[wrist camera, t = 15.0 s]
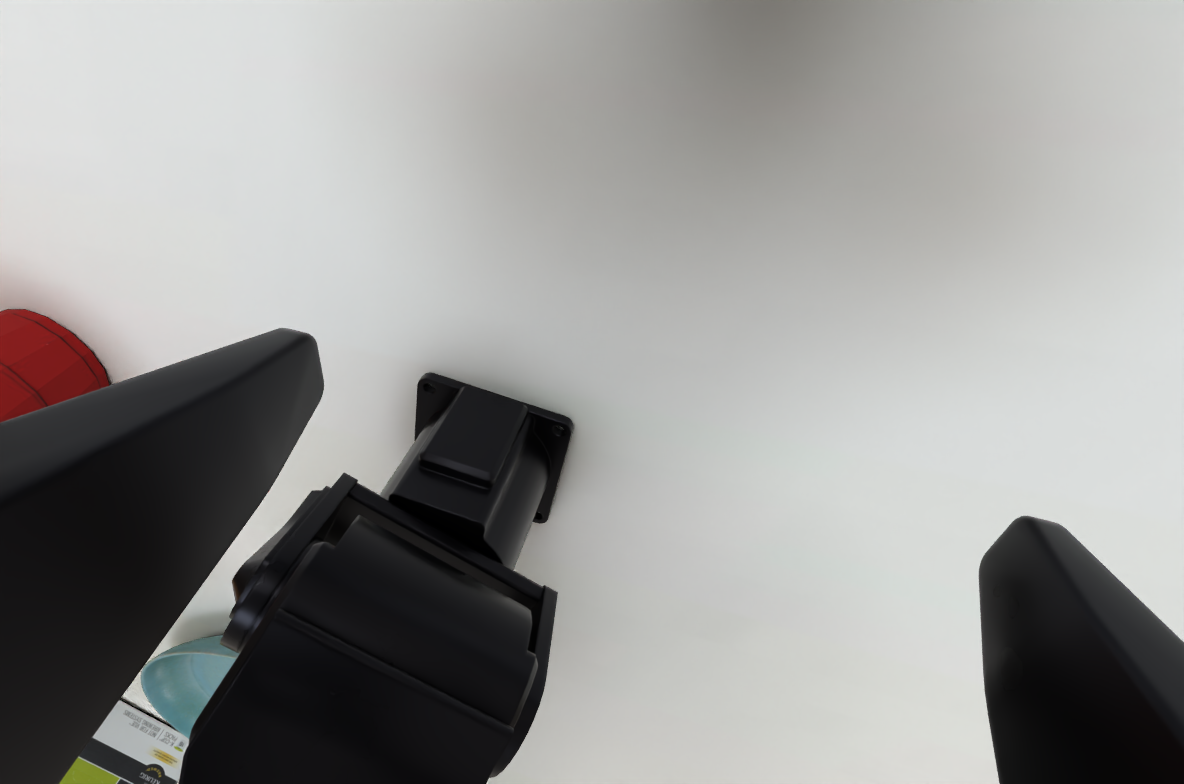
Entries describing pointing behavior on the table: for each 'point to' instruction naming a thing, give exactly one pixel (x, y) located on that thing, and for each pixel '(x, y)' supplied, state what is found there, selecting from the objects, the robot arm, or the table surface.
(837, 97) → the table surface
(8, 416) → the plastic cup
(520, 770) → the table surface
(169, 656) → the teal plate
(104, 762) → the tea box
